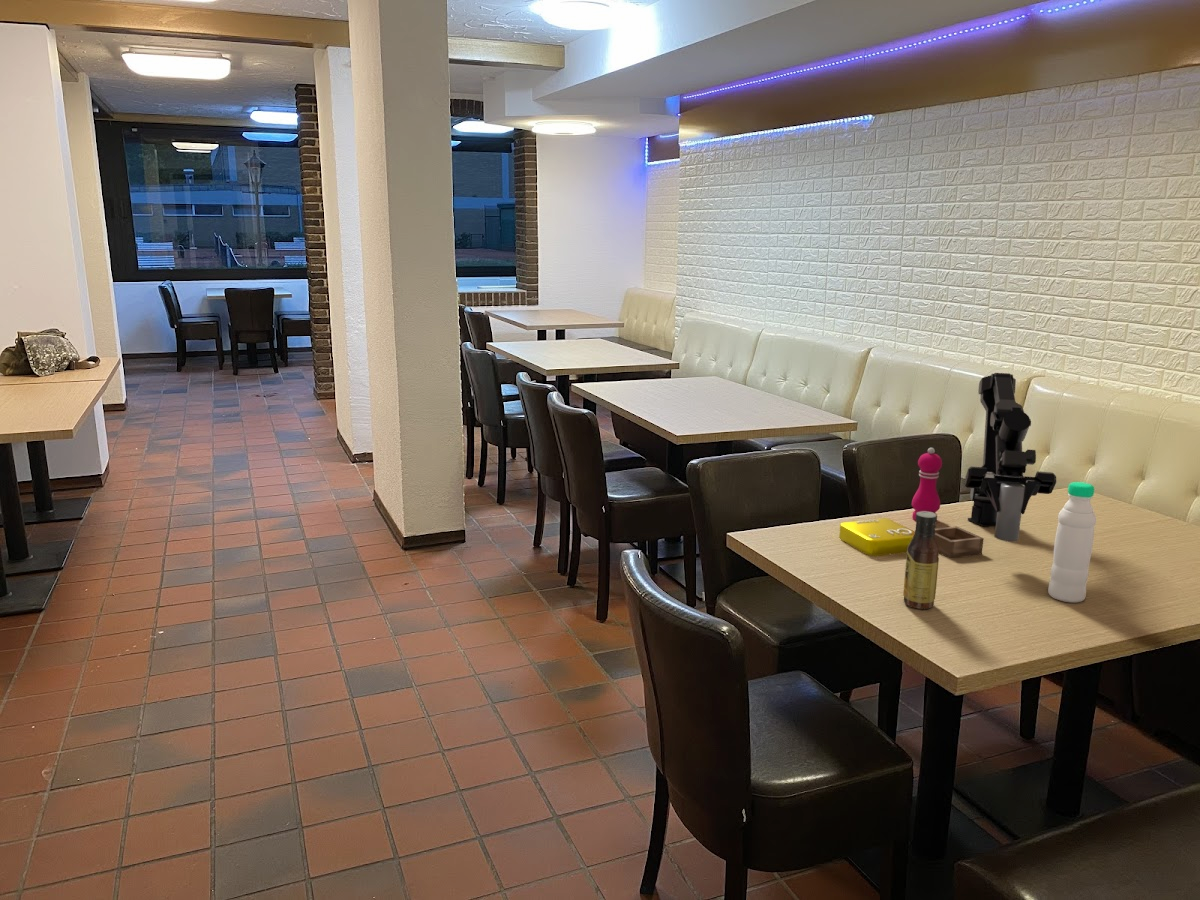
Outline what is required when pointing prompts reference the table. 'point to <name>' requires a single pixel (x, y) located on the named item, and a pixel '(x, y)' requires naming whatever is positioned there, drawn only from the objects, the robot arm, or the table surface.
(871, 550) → the element tile
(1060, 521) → the water bottle
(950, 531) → the walnut socket
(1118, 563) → the table surface
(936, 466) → the pepper mill
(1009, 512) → the charcoal canister
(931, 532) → the sauce bottle
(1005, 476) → the robot arm
